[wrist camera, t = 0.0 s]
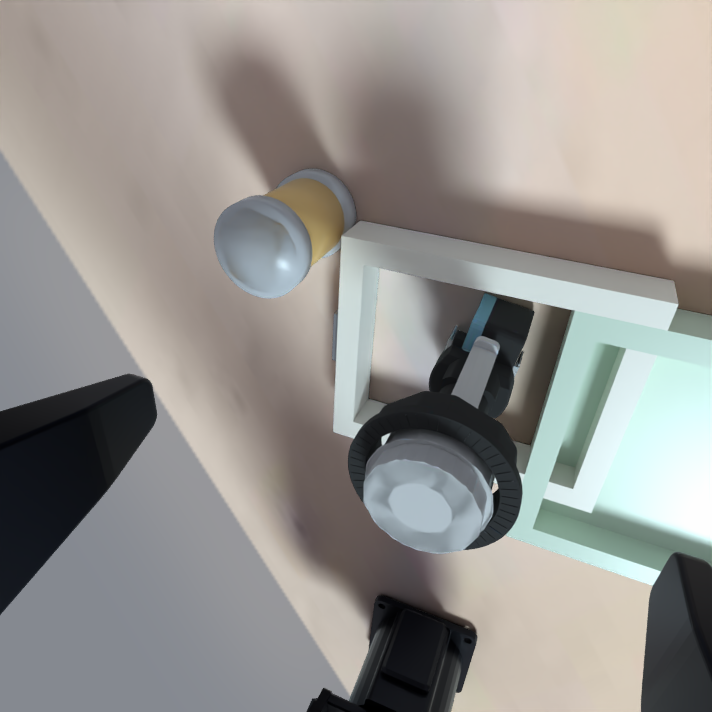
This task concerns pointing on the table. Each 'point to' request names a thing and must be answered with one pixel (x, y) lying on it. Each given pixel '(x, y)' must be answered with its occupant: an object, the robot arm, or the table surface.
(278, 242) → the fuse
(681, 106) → the table surface
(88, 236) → the table surface
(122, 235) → the table surface
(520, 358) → the push button
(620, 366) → the pale rectangular frame
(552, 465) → the parts tray
